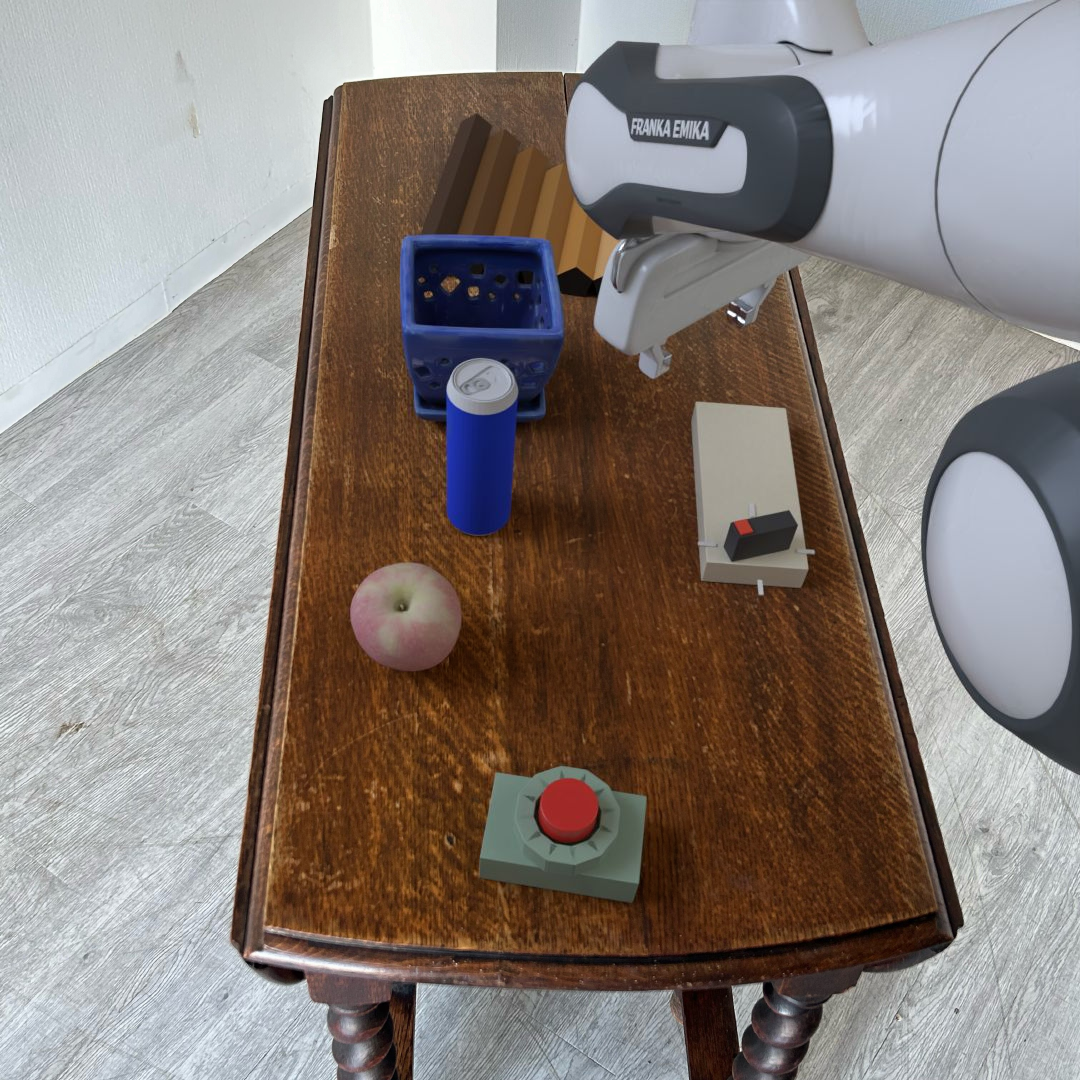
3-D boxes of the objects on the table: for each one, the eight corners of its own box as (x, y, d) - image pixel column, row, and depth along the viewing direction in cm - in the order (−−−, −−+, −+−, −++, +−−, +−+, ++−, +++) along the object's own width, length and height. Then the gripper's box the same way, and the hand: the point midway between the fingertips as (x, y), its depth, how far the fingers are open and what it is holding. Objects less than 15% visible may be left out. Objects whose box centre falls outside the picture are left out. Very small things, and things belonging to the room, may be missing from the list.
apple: (333, 661, 81) (323, 596, 75) (394, 591, 86) (390, 524, 79) (423, 713, 79) (420, 650, 73) (481, 638, 83) (484, 573, 77)
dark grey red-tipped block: (780, 534, 88) (790, 507, 86) (789, 549, 87) (799, 523, 85) (723, 546, 87) (731, 520, 85) (731, 562, 86) (739, 535, 84)
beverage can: (484, 482, 93) (489, 346, 82) (522, 520, 91) (533, 385, 79) (434, 510, 91) (432, 373, 79) (472, 550, 89) (476, 415, 77)
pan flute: (460, 138, 126) (413, 272, 110) (461, 110, 124) (412, 243, 108) (679, 168, 125) (662, 307, 109) (683, 140, 123) (668, 279, 107)
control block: (640, 814, 75) (651, 779, 71) (632, 907, 71) (642, 876, 67) (495, 790, 76) (497, 755, 72) (477, 881, 72) (479, 849, 68)
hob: (812, 618, 87) (821, 598, 84) (695, 610, 86) (701, 590, 84) (786, 428, 100) (793, 407, 98) (684, 420, 100) (689, 399, 98)
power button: (598, 795, 71) (601, 782, 70) (592, 847, 69) (595, 835, 67) (542, 786, 71) (544, 773, 70) (534, 838, 69) (536, 826, 67)
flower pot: (545, 339, 105) (554, 232, 96) (556, 439, 97) (567, 333, 88) (404, 338, 104) (399, 230, 95) (403, 440, 96) (398, 333, 87)
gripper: (654, 261, 67) (627, 428, 77) (866, 154, 76) (816, 316, 86) (583, 212, 69) (566, 379, 80) (796, 115, 79) (755, 276, 89)
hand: (697, 345), depth 83 cm, fingers open, 8 cm apart
